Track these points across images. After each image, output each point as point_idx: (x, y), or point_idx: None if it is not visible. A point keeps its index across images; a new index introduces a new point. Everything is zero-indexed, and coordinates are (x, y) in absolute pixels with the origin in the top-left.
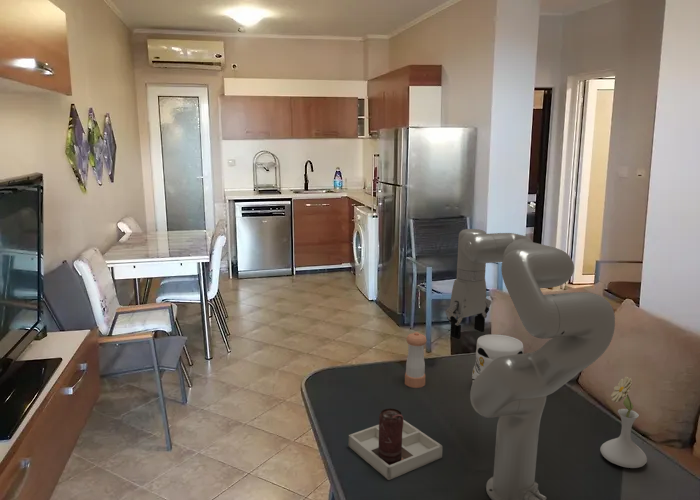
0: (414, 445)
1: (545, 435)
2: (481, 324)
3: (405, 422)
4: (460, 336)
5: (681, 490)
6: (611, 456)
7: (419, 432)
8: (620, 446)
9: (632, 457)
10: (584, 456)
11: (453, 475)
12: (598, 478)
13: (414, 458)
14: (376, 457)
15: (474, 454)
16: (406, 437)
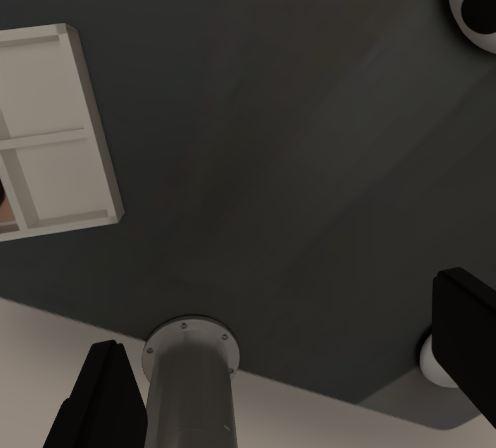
0: (74, 146)
1: (407, 231)
2: (480, 395)
3: (69, 66)
4: (145, 435)
5: (441, 422)
6: (427, 362)
7: (87, 139)
8: None
9: (448, 385)
10: (404, 315)
11: (114, 275)
12: (363, 368)
13: (20, 237)
14: None
15: (206, 230)
16: (37, 144)
